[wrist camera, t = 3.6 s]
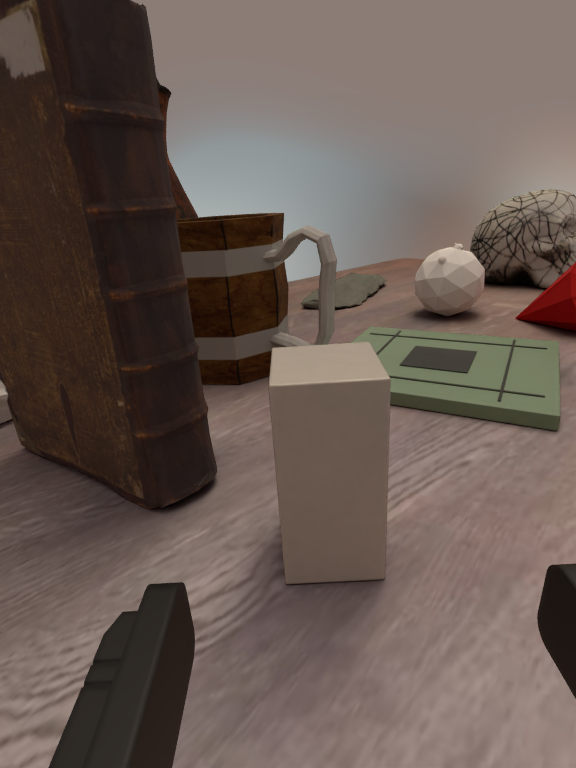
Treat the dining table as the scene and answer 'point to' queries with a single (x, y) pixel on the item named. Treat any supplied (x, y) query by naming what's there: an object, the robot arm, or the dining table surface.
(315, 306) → the stone slab
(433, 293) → the decorative ball
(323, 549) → the beige rectangular block
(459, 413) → the grid board
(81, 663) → the dining table surface
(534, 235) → the sculpture
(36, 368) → the book
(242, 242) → the mug
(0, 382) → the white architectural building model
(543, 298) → the gemstone
